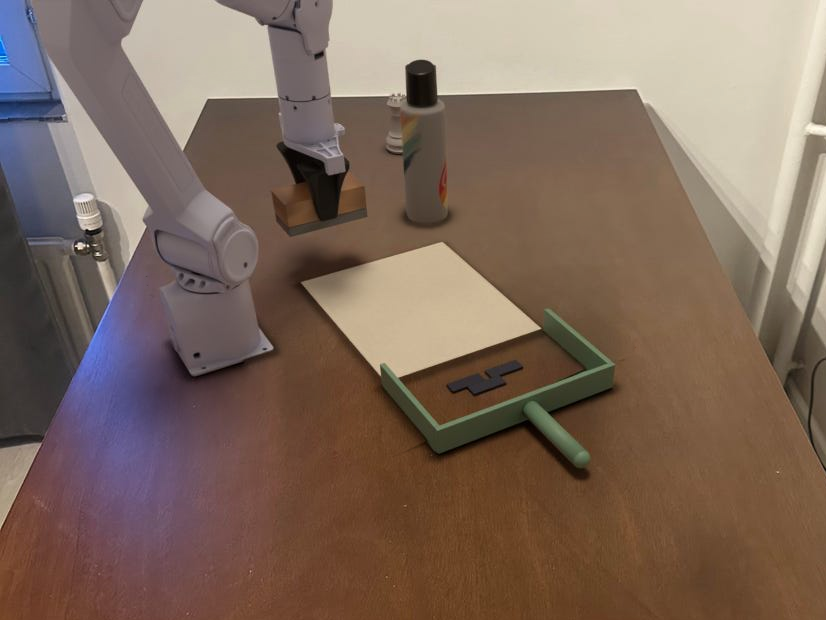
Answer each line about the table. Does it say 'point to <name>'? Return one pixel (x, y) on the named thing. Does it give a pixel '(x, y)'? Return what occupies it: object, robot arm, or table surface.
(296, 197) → the eraser
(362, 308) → the cream rectangular board
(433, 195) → the lotion bottle
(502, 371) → the stroke
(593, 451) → the table surface
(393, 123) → the rook chess piece
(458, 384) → the stroke
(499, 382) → the stroke
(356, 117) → the table surface
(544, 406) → the green handled pusher frame
